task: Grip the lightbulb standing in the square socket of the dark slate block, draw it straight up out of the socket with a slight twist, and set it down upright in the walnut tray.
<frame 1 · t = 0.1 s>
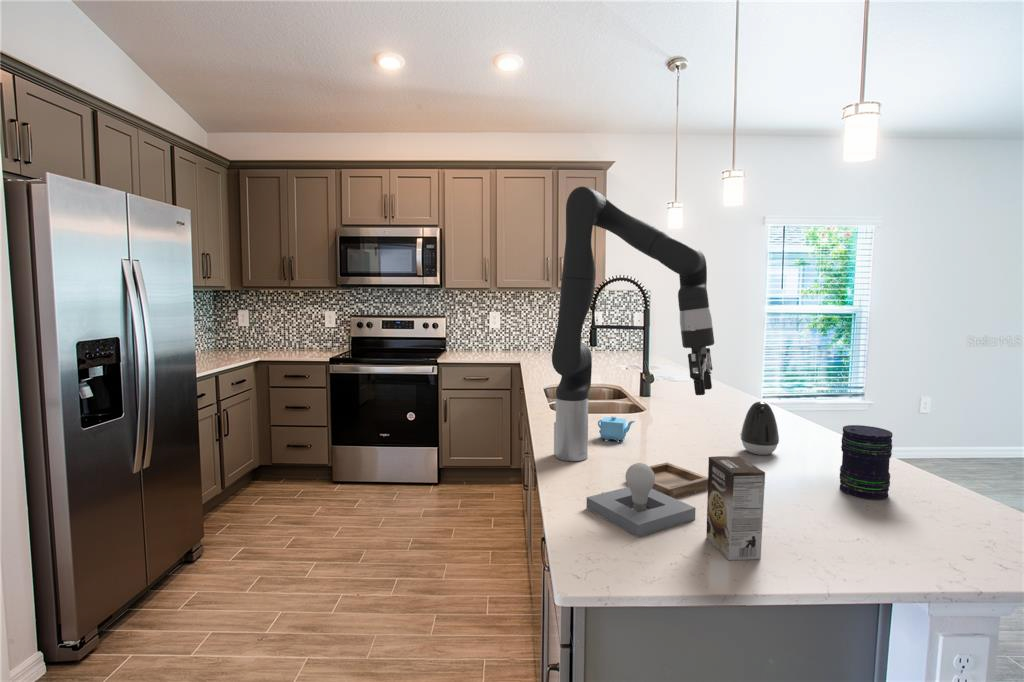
hand: (704, 392, 131), 22 cm above the countertop, tool pointing down, fingers open, 8 cm apart
teapot: (616, 440, 169), on the countertop
tray: (667, 484, 129), on the countertop
coffee box: (732, 549, 97), on the countertop
lightbulb: (639, 514, 112), resting in socket block
black egg-shaped device: (758, 453, 155), on the countertop
socket block: (639, 513, 112), on the countertop
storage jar: (863, 493, 124), on the countertop
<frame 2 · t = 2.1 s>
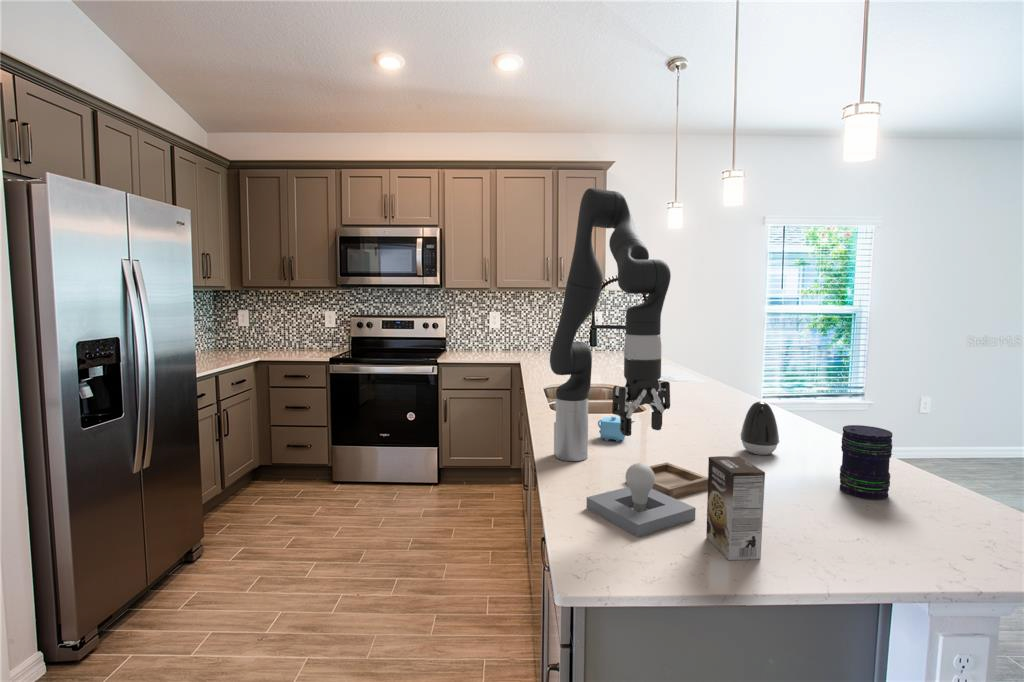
hand: (641, 432, 111), 18 cm above the countertop, tool pointing down, fingers open, 8 cm apart
nothing on the countertop moved.
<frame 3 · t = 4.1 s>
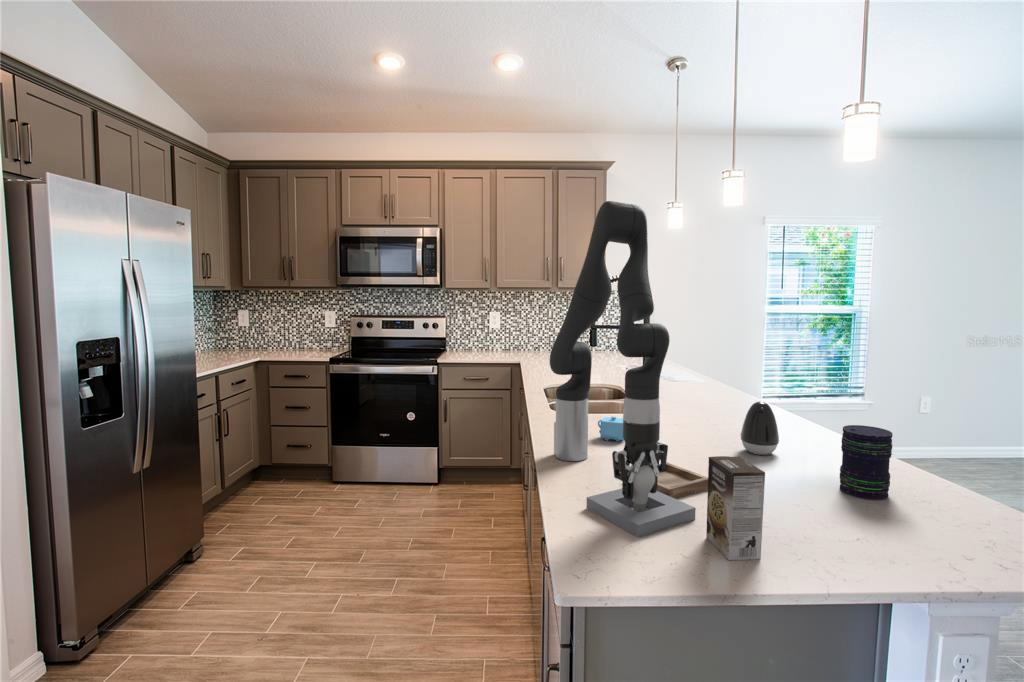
hand: (639, 495, 112), 4 cm above the countertop, tool pointing down, fingers closed on lightbulb, 6 cm apart
lightbulb: (639, 514, 112), resting in socket block, touching gripper
everything else where it was.
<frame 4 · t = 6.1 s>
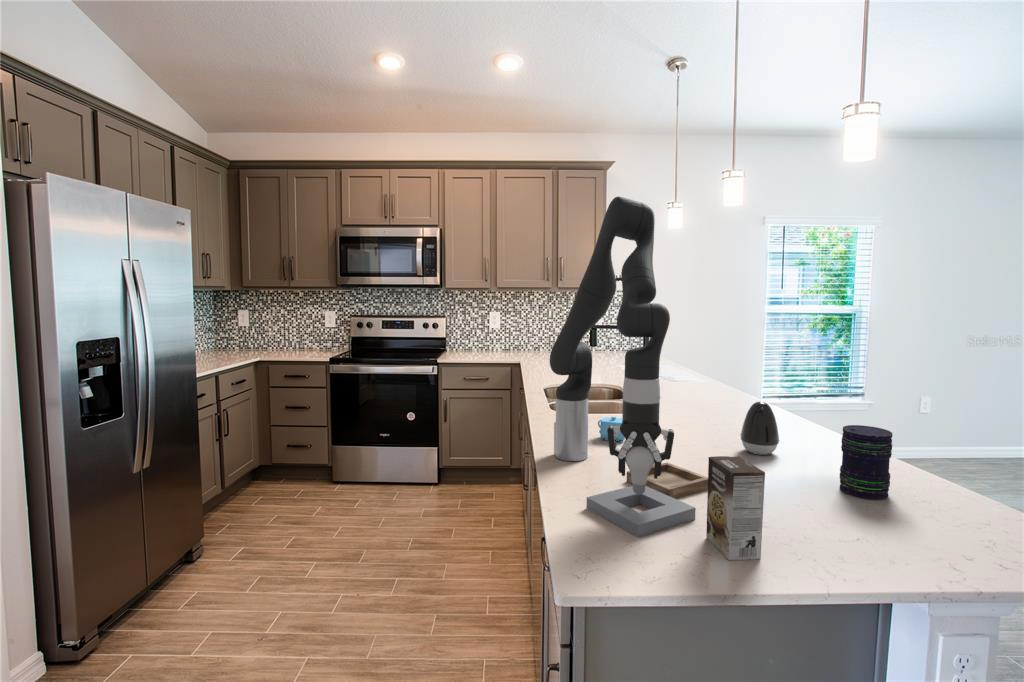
hand: (639, 475, 112), 8 cm above the countertop, tool pointing down, fingers closed on lightbulb, 6 cm apart
lightbulb: (638, 495, 112), point 4 cm above the countertop, touching gripper
everything else where it was.
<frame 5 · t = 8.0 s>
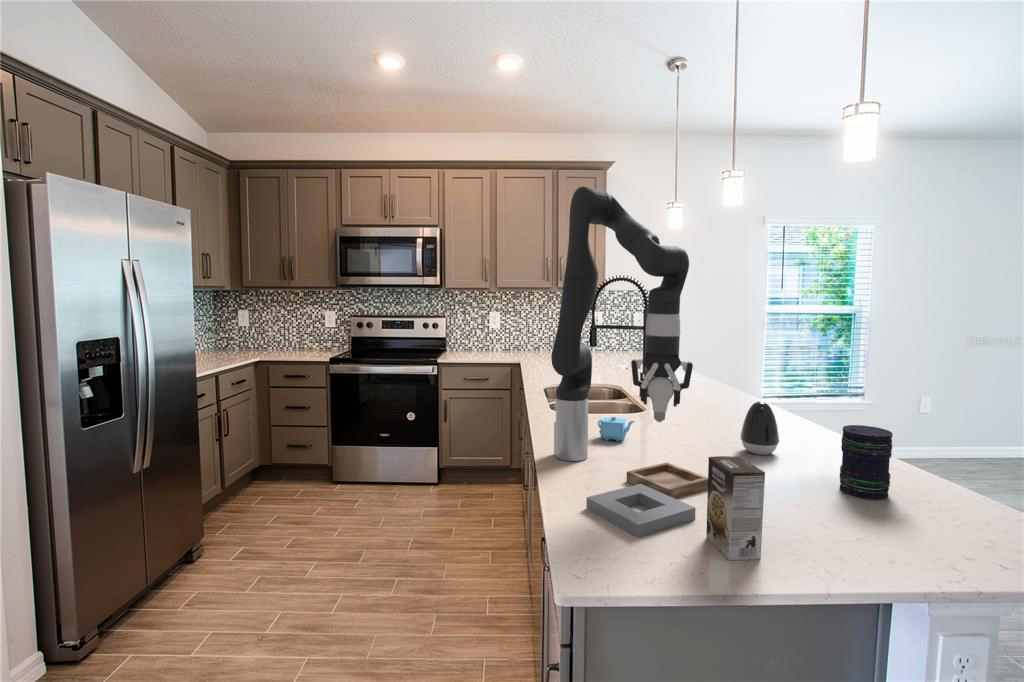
hand: (659, 404, 123), 21 cm above the countertop, tool pointing down, fingers closed on lightbulb, 6 cm apart
lightbulb: (659, 422, 123), point 17 cm above the countertop, touching gripper
everything else where it was.
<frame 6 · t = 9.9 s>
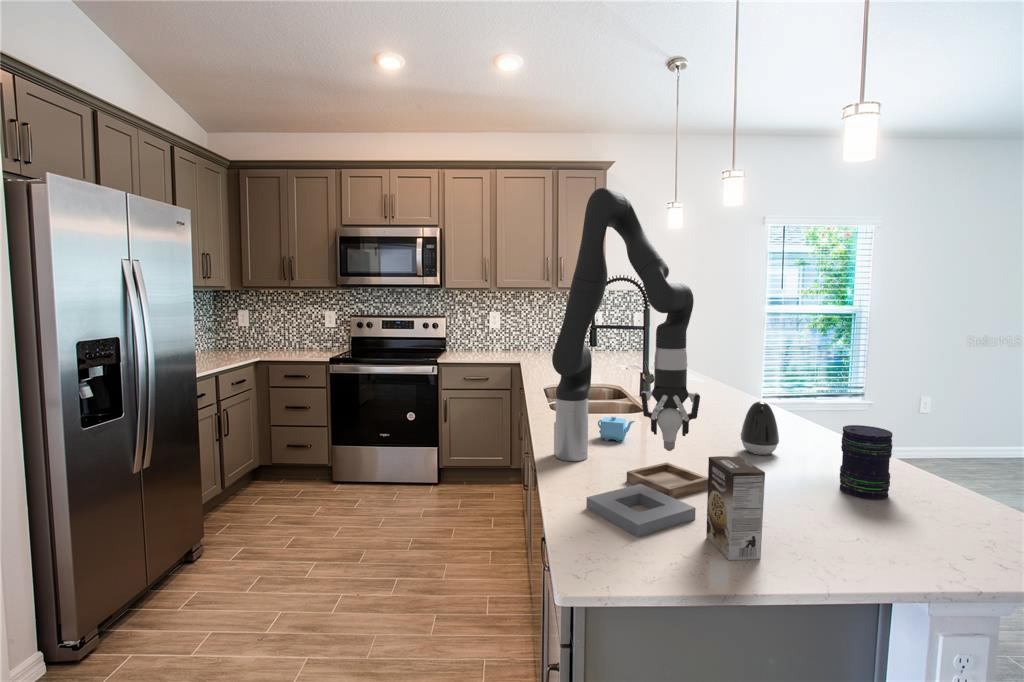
hand: (669, 434, 128), 13 cm above the countertop, tool pointing down, fingers closed on lightbulb, 6 cm apart
lightbulb: (669, 451, 129), point 8 cm above the countertop, touching gripper
everything else where it was.
when the fingers open (6 cm above the countertop, at t = 11.8 s): lightbulb drops 1 cm, resting on tray.
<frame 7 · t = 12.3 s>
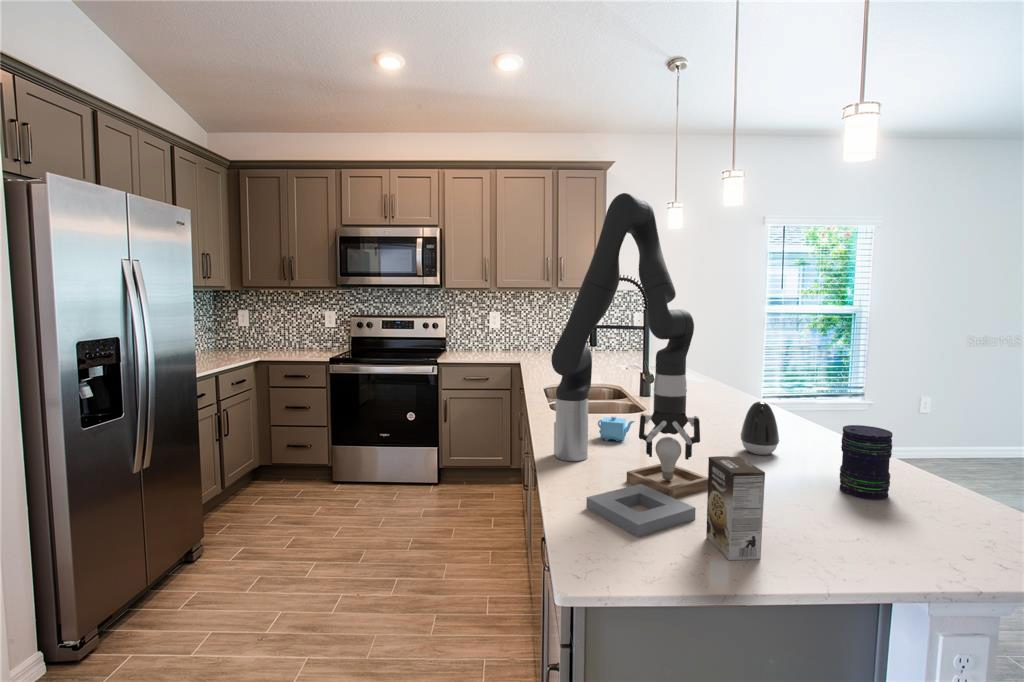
hand: (668, 457, 129), 7 cm above the countertop, tool pointing down, fingers open, 8 cm apart
lightbulb: (667, 481, 129), point 1 cm above the countertop, touching tray
everything else where it was.
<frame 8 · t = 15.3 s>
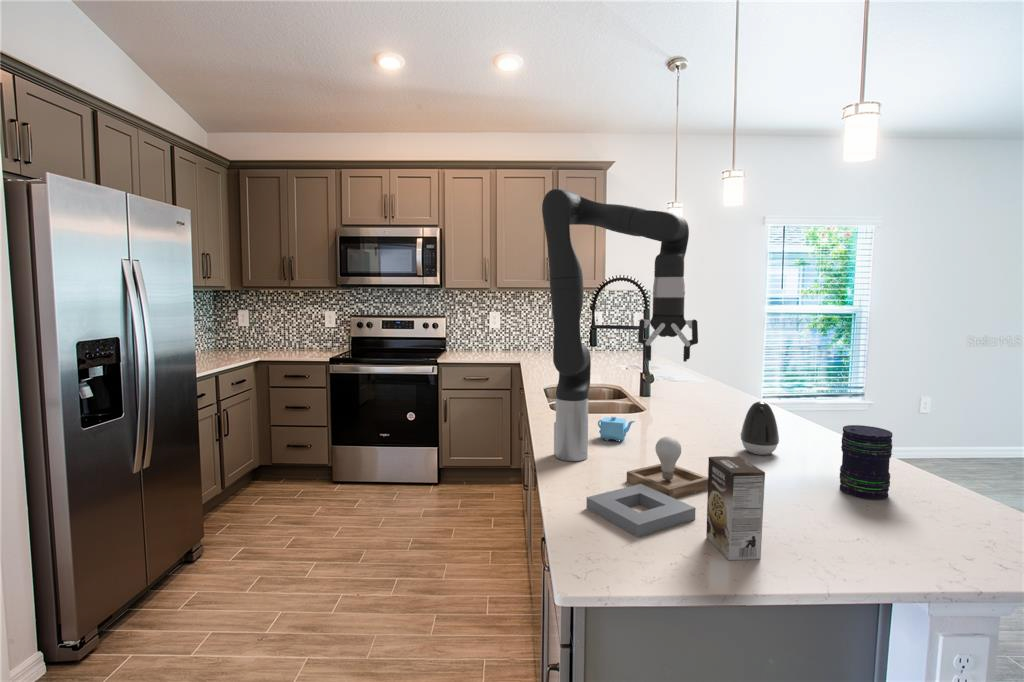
hand: (667, 360, 131), 30 cm above the countertop, tool pointing down, fingers open, 8 cm apart
nothing on the countertop moved.
at the end: lightbulb inside the target area on the tray (0.1 cm from its centre), point 0.8 cm above the tray's base; lightbulb tilted 0°; the gripper is holding nothing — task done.
